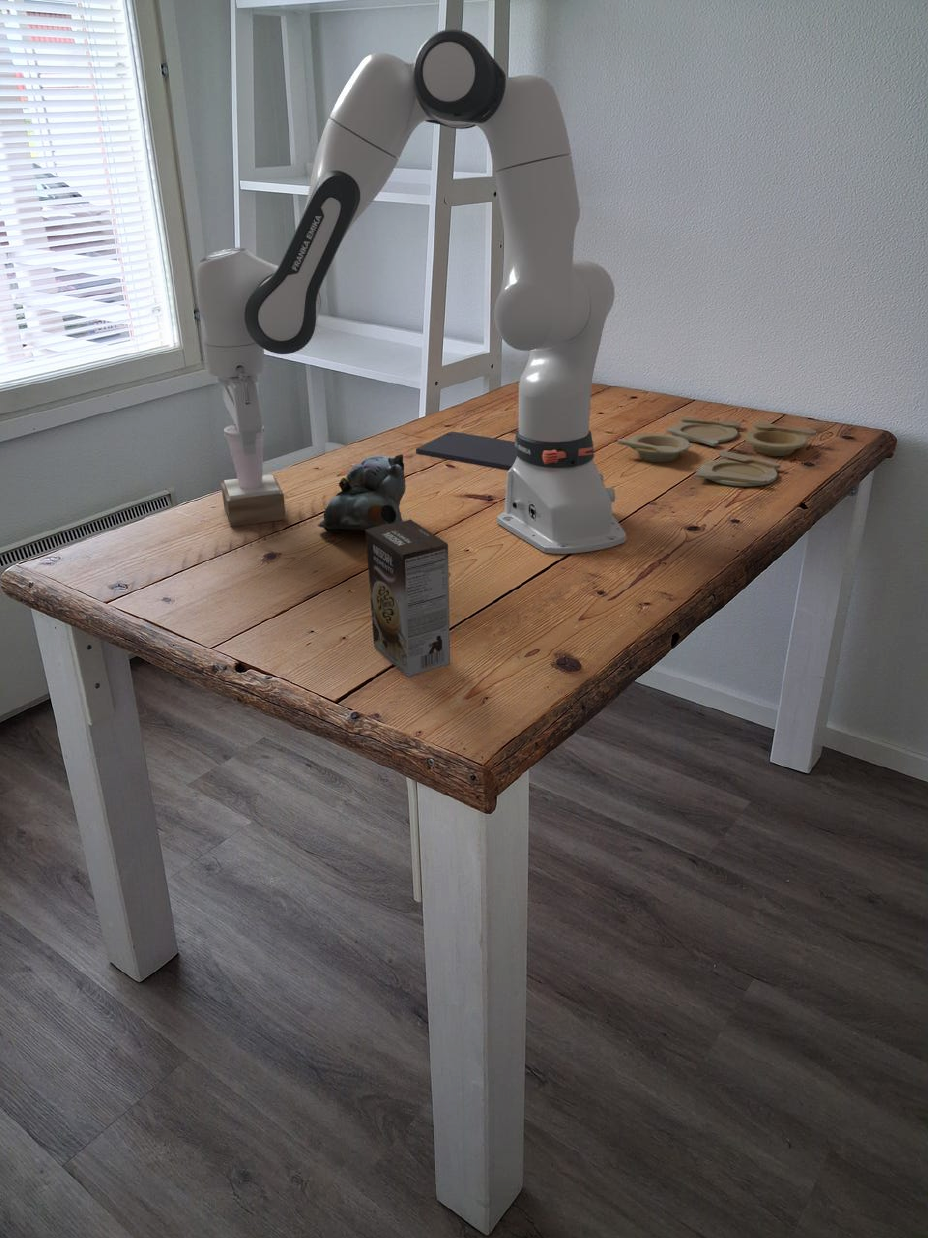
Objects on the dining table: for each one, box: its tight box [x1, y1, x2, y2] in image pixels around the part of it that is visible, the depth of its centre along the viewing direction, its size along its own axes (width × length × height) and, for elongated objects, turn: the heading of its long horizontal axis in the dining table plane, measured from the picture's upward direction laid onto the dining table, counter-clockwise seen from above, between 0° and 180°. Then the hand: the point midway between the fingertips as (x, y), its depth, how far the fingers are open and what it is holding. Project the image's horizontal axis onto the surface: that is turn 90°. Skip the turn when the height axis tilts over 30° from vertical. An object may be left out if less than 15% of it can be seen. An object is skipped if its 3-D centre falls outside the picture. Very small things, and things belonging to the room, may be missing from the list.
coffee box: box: [364, 519, 451, 678], centre depth 120 cm, size 9×6×16 cm
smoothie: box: [223, 423, 266, 489], centre depth 161 cm, size 6×6×14 cm
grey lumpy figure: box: [316, 453, 407, 531], centre depth 158 cm, size 15×12×14 cm
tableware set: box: [617, 416, 817, 487], centre depth 189 cm, size 35×29×4 cm
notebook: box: [415, 431, 517, 472], centre depth 193 cm, size 13×2×21 cm
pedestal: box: [220, 474, 287, 528], centre depth 166 cm, size 9×9×5 cm
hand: (246, 445), depth 161 cm, fingers open, 7 cm apart
